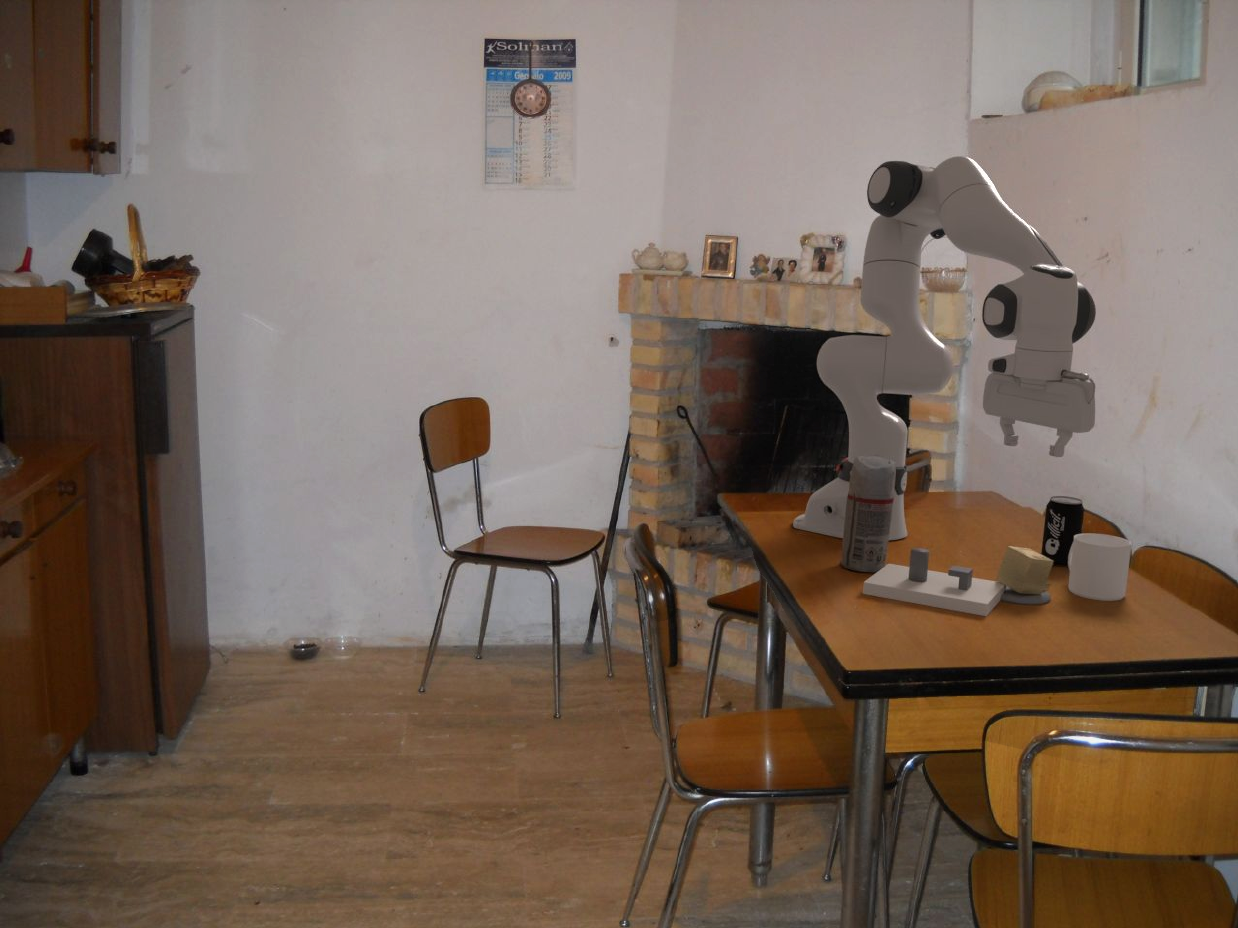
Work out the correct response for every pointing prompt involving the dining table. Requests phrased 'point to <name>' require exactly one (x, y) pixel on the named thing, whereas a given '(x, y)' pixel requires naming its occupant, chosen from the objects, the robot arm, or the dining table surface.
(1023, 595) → the slate coaster
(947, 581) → the base
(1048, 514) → the beverage can
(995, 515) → the dining table surface
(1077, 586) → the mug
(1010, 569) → the tan wooden block
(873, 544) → the spray can
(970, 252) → the robot arm
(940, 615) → the dining table surface
